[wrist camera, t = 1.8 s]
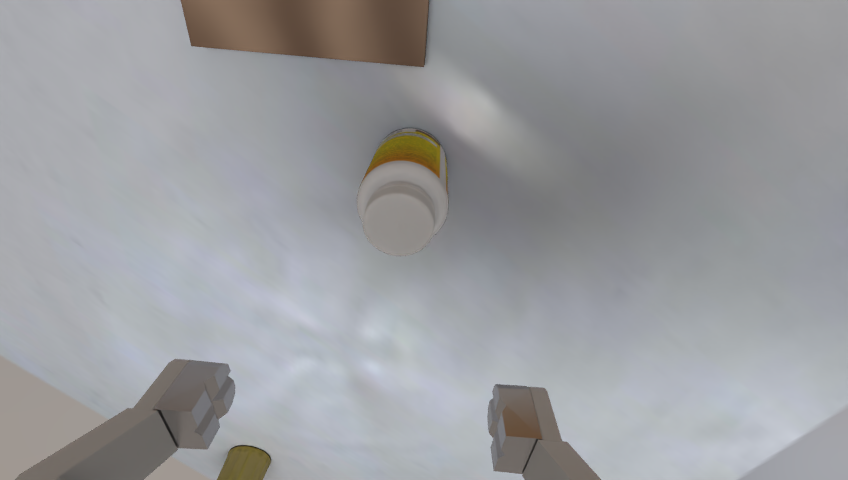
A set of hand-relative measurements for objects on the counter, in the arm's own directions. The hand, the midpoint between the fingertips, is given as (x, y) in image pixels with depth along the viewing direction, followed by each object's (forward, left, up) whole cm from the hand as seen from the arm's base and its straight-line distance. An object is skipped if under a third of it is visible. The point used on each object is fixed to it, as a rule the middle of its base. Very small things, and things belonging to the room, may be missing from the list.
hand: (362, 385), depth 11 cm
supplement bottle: (0, 0, -20) cm, 20 cm away
